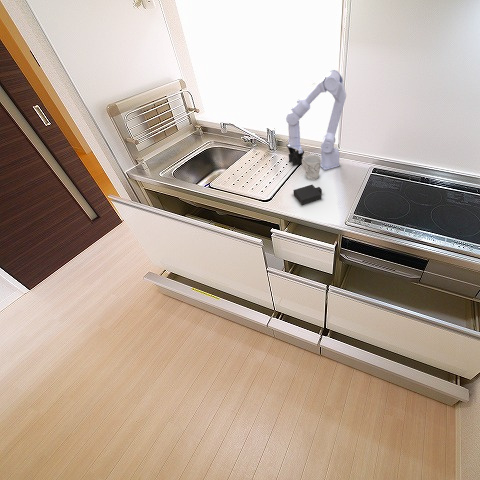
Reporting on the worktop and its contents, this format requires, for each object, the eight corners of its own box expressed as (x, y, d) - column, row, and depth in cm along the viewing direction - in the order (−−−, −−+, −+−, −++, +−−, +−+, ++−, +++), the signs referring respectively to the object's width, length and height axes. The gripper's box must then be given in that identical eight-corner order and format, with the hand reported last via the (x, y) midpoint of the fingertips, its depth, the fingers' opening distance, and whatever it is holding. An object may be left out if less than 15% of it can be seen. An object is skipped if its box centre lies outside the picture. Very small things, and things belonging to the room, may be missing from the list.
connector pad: (298, 159, 147) (298, 151, 144) (302, 163, 144) (302, 155, 141) (289, 161, 145) (288, 154, 142) (293, 165, 142) (292, 158, 139)
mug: (297, 174, 136) (296, 156, 129) (308, 168, 140) (307, 150, 133) (312, 182, 131) (312, 164, 123) (324, 176, 135) (324, 158, 128)
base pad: (315, 188, 127) (316, 183, 125) (325, 198, 122) (325, 192, 120) (293, 195, 123) (293, 189, 121) (302, 205, 118) (301, 200, 116)
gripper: (281, 131, 137) (283, 155, 147) (293, 143, 128) (294, 167, 138) (293, 129, 139) (295, 153, 149) (305, 140, 131) (306, 164, 140)
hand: (295, 159), depth 144 cm, fingers open, 7 cm apart
